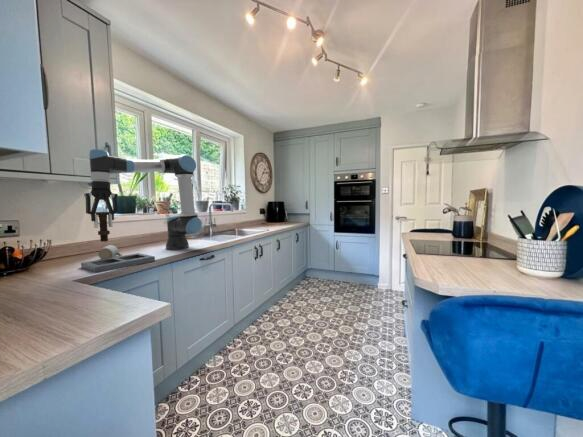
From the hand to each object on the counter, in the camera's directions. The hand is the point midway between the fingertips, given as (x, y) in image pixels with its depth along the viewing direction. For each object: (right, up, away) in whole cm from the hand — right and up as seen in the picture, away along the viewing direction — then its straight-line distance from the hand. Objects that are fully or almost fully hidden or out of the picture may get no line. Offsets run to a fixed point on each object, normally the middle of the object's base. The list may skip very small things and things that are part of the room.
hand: (103, 227), depth 123 cm
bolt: (0, -7, 0) cm, 8 cm away
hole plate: (+4, -20, +6) cm, 21 cm away
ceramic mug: (-12, -20, +21) cm, 31 cm away
